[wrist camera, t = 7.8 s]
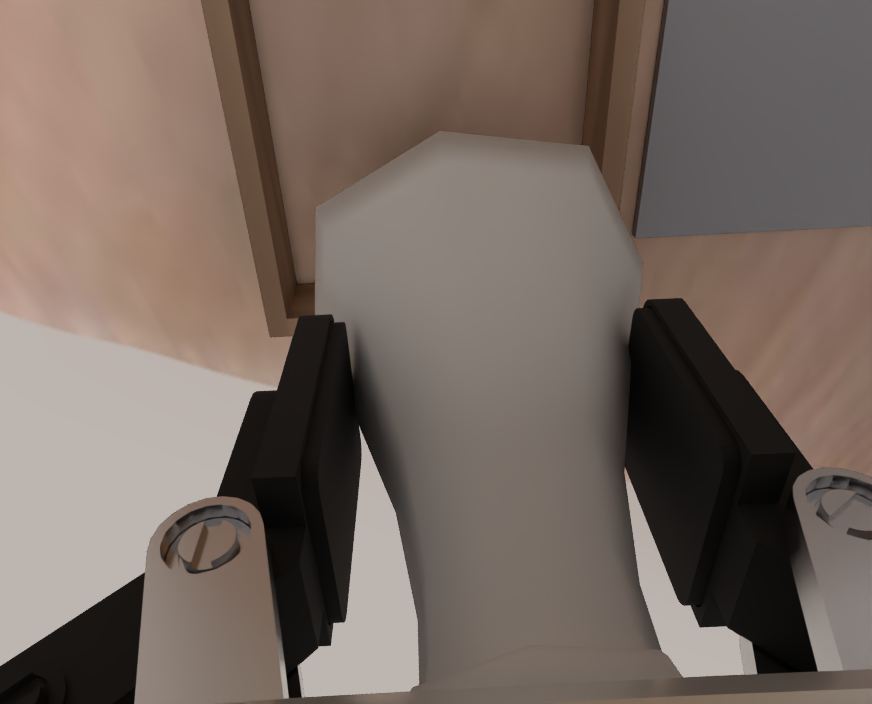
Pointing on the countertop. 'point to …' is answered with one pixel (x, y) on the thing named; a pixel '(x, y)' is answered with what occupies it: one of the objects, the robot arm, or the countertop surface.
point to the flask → (498, 402)
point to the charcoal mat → (759, 118)
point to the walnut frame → (257, 164)
